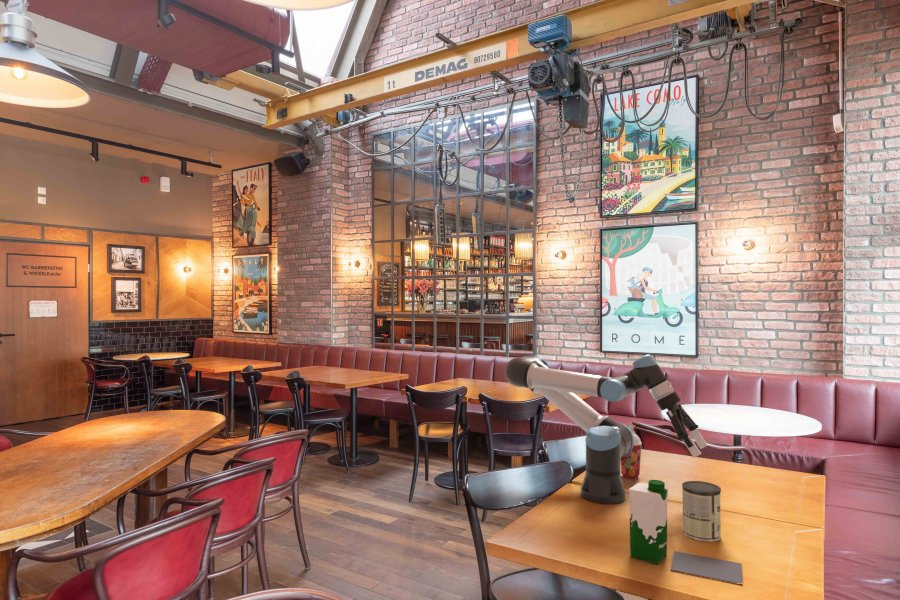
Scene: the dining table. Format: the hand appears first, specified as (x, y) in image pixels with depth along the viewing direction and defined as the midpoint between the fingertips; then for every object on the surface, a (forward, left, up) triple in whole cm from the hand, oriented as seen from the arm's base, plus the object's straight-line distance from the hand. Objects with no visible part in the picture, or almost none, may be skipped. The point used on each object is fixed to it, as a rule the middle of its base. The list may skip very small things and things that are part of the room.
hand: (701, 451), depth 188 cm
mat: (+3, -52, -17) cm, 55 cm away
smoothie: (-26, +18, -17) cm, 36 cm away
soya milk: (-11, -52, -17) cm, 56 cm away
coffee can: (+1, -30, -17) cm, 34 cm away
